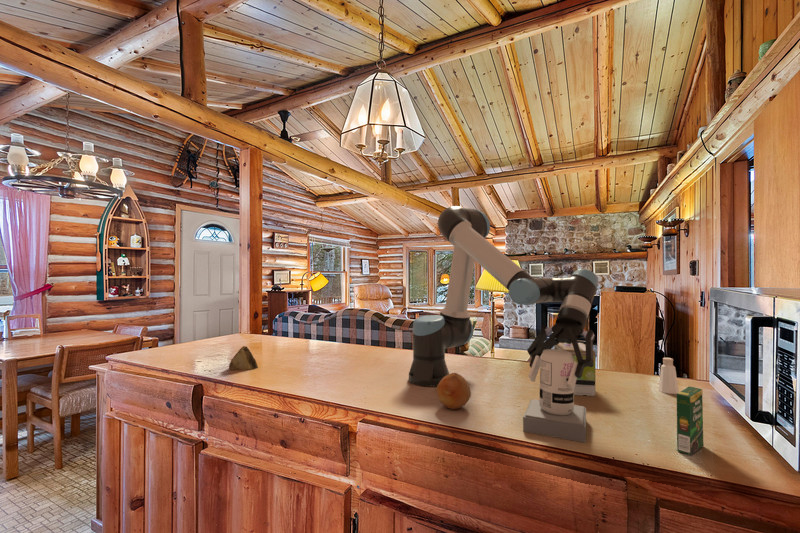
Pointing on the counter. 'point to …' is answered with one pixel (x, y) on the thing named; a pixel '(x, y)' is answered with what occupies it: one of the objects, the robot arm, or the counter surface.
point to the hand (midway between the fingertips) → (550, 382)
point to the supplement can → (556, 382)
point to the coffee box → (689, 420)
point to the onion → (453, 391)
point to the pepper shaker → (668, 377)
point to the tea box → (587, 380)
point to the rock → (243, 360)
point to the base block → (555, 422)
